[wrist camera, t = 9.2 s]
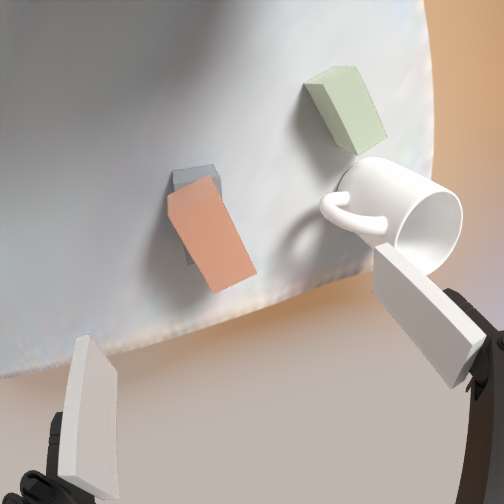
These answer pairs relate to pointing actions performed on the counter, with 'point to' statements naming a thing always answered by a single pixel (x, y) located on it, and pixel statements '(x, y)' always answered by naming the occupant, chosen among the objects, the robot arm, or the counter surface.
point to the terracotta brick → (209, 234)
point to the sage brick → (347, 108)
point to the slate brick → (190, 176)
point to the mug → (396, 211)
